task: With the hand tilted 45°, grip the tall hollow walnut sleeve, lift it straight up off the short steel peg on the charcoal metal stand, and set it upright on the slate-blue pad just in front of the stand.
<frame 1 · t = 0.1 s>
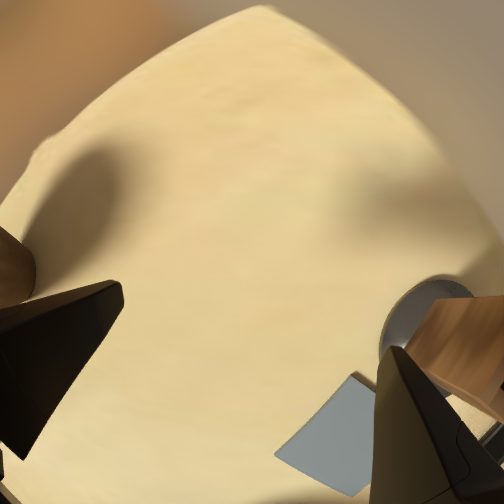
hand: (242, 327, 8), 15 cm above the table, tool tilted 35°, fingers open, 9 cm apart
walnut sleeve: (438, 344, 19), point 1 cm above the table, touching peg stand
plant pot: (24, 275, 29), on the table
peg stand: (434, 342, 20), on the table
phone: (486, 451, 16), on the table
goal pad: (352, 443, 20), on the table
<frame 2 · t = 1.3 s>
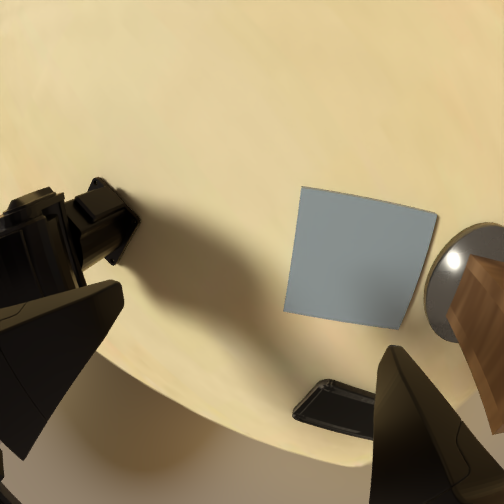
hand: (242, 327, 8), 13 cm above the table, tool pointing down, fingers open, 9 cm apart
walnut sleeve: (482, 290, 17), point 1 cm above the table, touching peg stand
peg stand: (477, 284, 18), on the table
phone: (361, 410, 27), on the table
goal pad: (358, 263, 20), on the table
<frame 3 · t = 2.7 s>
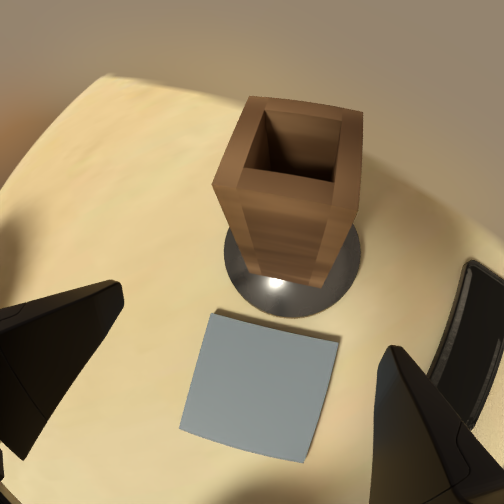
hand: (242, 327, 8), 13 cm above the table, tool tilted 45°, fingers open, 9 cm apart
walnut sleeve: (292, 247, 22), point 1 cm above the table, touching peg stand
peg stand: (292, 251, 23), on the table
phone: (469, 348, 18), on the table
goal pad: (257, 391, 19), on the table
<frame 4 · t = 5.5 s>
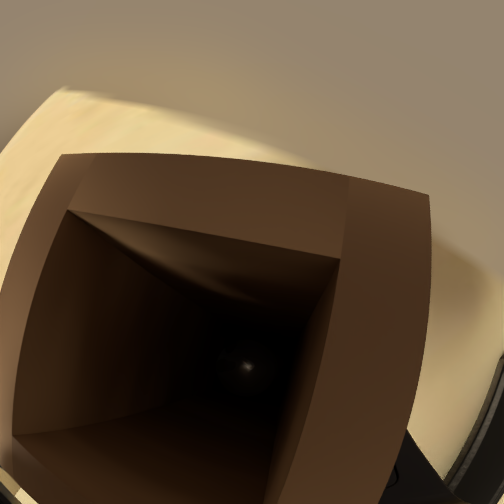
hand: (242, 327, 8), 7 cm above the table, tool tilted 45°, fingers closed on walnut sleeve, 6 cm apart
walnut sleeve: (253, 366, 13), point 1 cm above the table, touching gripper, peg stand
peg stand: (255, 366, 14), on the table
phone: (487, 458, 10), on the table
when the fingers open (8 cm above the table, at t = 10.4 s): walnut sleeve drops 1 cm, resting on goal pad.
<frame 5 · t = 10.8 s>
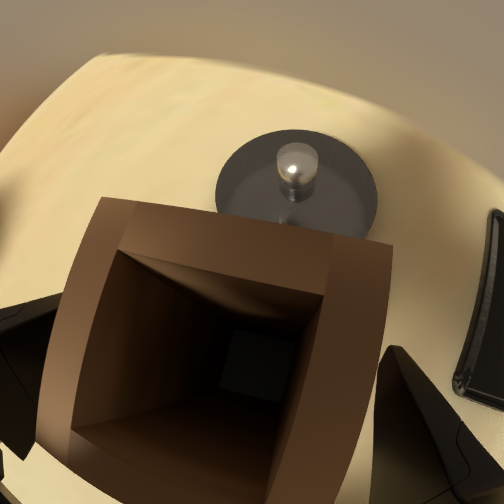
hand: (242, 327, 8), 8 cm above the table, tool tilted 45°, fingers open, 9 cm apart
walnut sleeve: (257, 365, 15), point 1 cm above the table, touching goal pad
peg stand: (296, 194, 19), on the table
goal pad: (257, 365, 15), on the table
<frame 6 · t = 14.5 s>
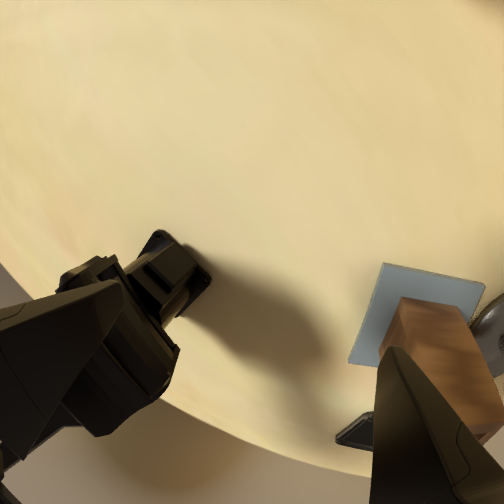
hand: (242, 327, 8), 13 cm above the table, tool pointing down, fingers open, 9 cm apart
walnut sleeve: (418, 329, 20), point 1 cm above the table, touching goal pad
peg stand: (503, 335, 18), on the table
phone: (393, 432, 27), on the table
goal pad: (416, 324, 21), on the table
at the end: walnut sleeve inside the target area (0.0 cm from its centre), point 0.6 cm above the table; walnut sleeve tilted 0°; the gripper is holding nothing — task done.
